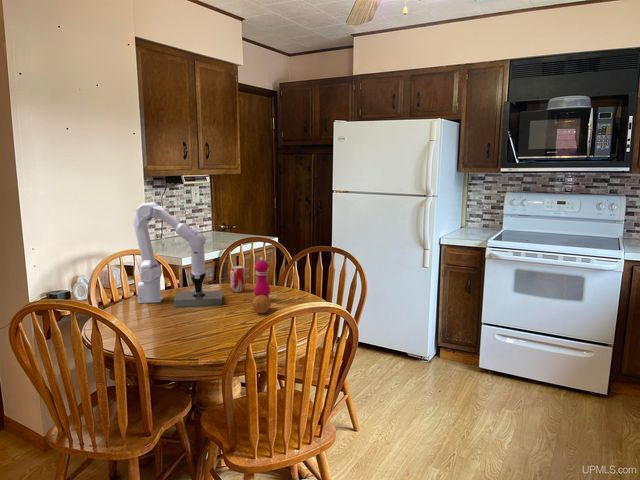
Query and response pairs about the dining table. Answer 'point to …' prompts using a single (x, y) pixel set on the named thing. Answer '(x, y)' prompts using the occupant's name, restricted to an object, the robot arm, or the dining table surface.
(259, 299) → the potato
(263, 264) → the pepper mill
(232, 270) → the soda can
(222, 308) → the dining table surface
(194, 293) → the steel peg
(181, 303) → the dock plate
